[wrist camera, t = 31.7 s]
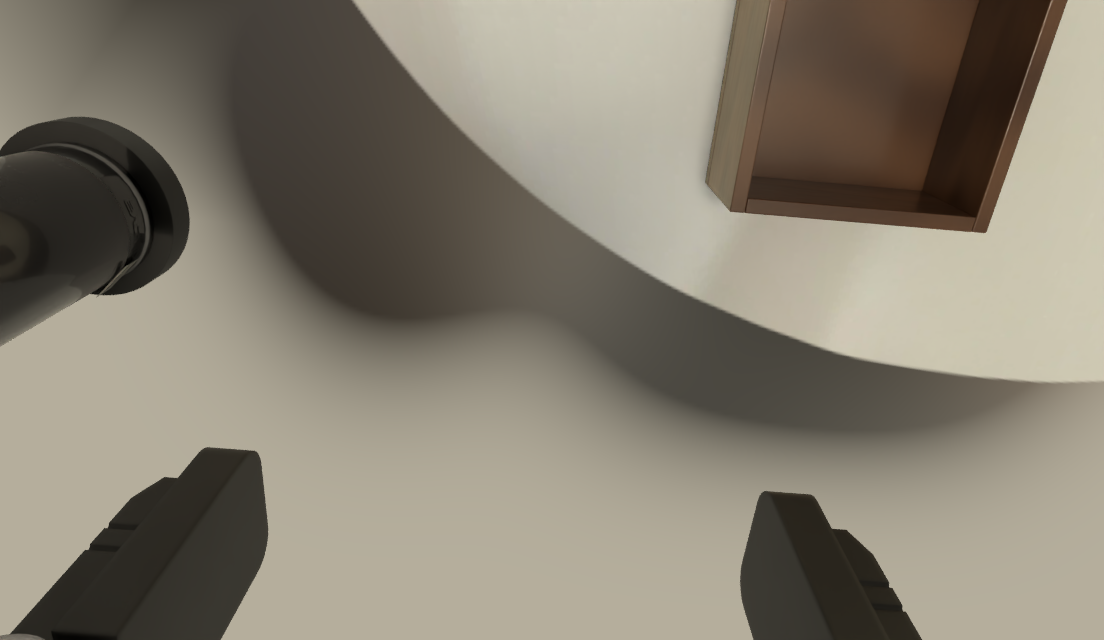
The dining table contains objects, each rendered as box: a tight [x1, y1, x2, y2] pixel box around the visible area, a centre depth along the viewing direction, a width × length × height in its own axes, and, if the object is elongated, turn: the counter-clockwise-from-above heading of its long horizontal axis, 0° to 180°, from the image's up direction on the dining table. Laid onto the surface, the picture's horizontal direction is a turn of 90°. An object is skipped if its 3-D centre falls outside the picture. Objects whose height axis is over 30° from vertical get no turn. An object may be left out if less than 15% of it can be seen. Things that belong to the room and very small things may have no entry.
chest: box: [705, 0, 1067, 233], centre depth 36 cm, size 14×14×7 cm
